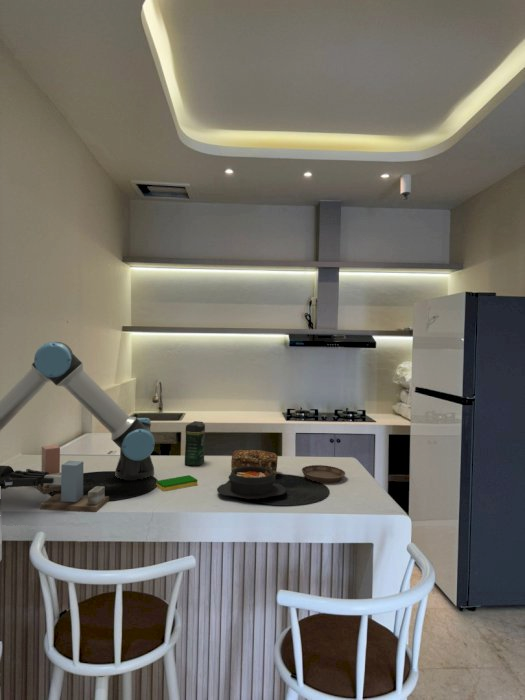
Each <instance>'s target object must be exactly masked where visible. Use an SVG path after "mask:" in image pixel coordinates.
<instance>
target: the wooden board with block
mask: <svg viewBox="0 0 525 700" xmlns="http://www.w3.org/2000/svg"><path fill="white" fill-rule="evenodd" d="M105 491H106V487H105V486H101V485H100V486H99V485H96V486H94V487H92V489H90V490H89V491H88V492H87V494H83V497H82V498H81V499H79V500H78V501H77V502H63V501H61V493H56V494H54V495H52V496H51V497H50V498H48V499H47V500H45V501H43V502H42V503H40V507H39V509H40V510H57V511H74V512H92V513H93V512H94V513H97V512H98V511H99V510H100V509H101V508H102V507H104V506H105V505H106V504H107V503H108V502H109V501H110V496H109V495H106V493H105Z"/></svg>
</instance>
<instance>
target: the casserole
mask: <svg viewBox="0 0 525 700" xmlns="http://www.w3.org/2000/svg"><path fill="white" fill-rule="evenodd" d="M228 480H229V483H222V484H221V485H219V486H218V487H217V488H216V491H217V493H218V494H219V495H221V496H225V497H235V498H238V499H242V498H245V499H244V500H249V499H256V500H261V499H260V498H262V499H265V498H271V497H276V496H282V495H284V494H285V493H286V492H287V489H286V486H284V485H283V484H280V483H274V481H276V477H275V476H274V475H273V472H272V471H271V470H270V469H267V468H264V467H257V466H245V467H239V468H236V469H233V470H232V471H231V472H230V474H229V475H228Z"/></svg>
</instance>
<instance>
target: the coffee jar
mask: <svg viewBox="0 0 525 700" xmlns="http://www.w3.org/2000/svg"><path fill="white" fill-rule="evenodd" d="M205 433H206V424H205V423H204V422H203V421H196V420H195V421H193V422H190V423H188V424H186V425H185V444H184V445H185V447H184V451H185V452H184V465H186V464H187V466H189V465H195V466H201V465H202V464H203V463H204V462H205V435H206V434H205ZM200 464H201V465H200Z"/></svg>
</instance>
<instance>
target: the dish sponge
mask: <svg viewBox="0 0 525 700" xmlns="http://www.w3.org/2000/svg"><path fill="white" fill-rule="evenodd" d="M155 484H156V485H157V486H156V487H157V488H158V489H159V490H161V491H163V492H168V491H173V490H178V488H179V489H183V488H182V487H184V488H188V487H187V486H189V487H193V486H192V485H194V486H198V479H197V478H195V477H193V476H192V475H190V474H188V475H183V476H182V475H181V476H176V477H172V478H166V479H159V480H156V483H155Z"/></svg>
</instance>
